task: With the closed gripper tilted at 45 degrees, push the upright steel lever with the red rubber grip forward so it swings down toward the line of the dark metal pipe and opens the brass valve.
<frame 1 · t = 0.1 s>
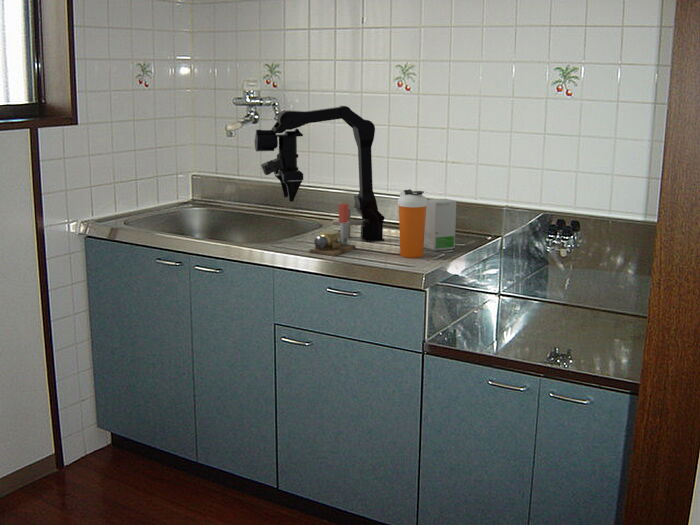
hand: (288, 199, 271), 15 cm above the table, tool pointing down, fingers open, 9 cm apart
shaker bottle: (411, 256, 258), on the table
valve lever: (343, 224, 261), point 9 cm above the table, hinge at 0.0°
pipe connector: (347, 237, 286), on the table
valve stand: (338, 251, 264), on the table
skincare box: (439, 248, 269), on the table
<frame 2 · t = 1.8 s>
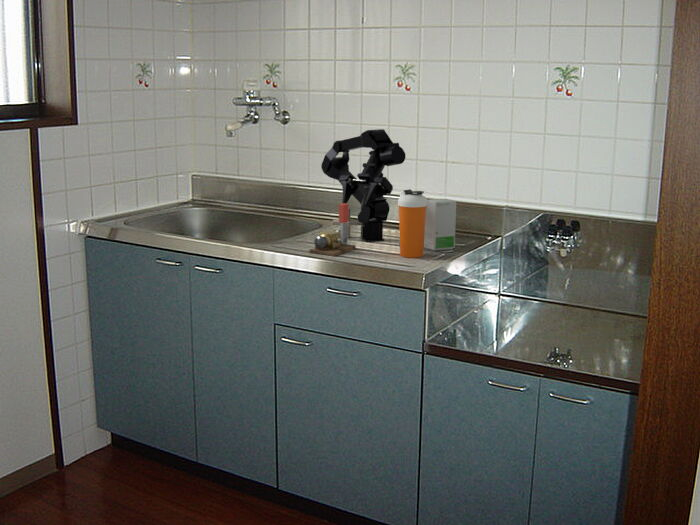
hand: (354, 205, 267), 14 cm above the table, tool tilted 45°, fingers open, 9 cm apart
nothing on the table moved.
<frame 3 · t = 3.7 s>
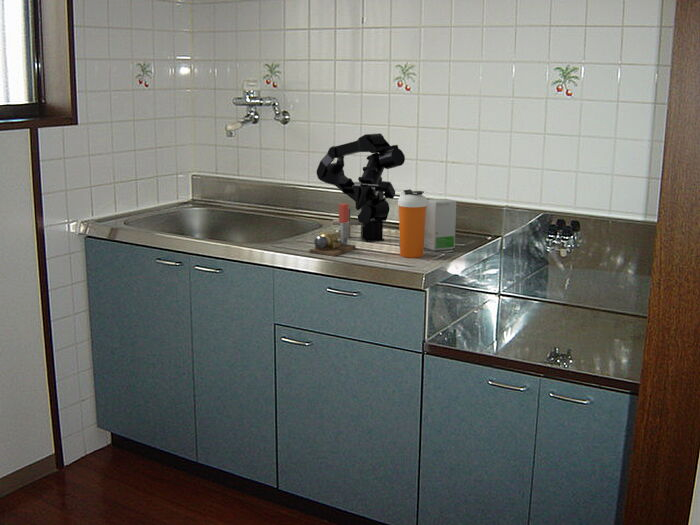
hand: (357, 209, 267), 12 cm above the table, tool tilted 45°, fingers closed
nothing on the table moved.
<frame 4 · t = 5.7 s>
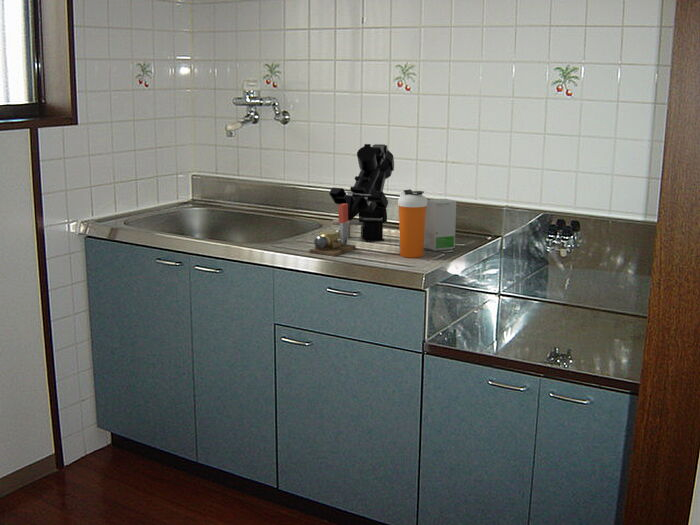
hand: (349, 219, 261), 10 cm above the table, tool tilted 45°, fingers closed
valve lever: (343, 224, 261), point 9 cm above the table, hinge at 1.3°, touching gripper
everything else where it was.
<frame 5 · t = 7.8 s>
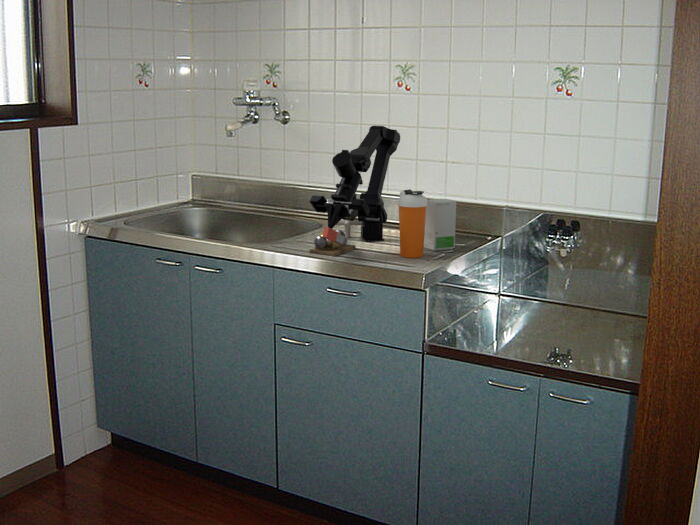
hand: (329, 228, 253), 9 cm above the table, tool tilted 45°, fingers closed, pressing on valve lever
valve lever: (335, 237, 257), point 6 cm above the table, hinge at 66.2°, touching gripper
everything else where it was.
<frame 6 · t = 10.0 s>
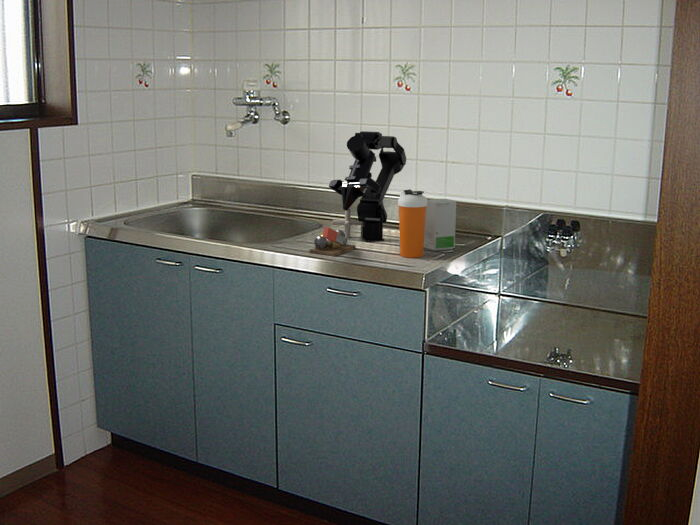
hand: (345, 210, 264), 13 cm above the table, tool tilted 35°, fingers closed
valve lever: (335, 237, 257), point 6 cm above the table, hinge at 66.5°
everything else where it was.
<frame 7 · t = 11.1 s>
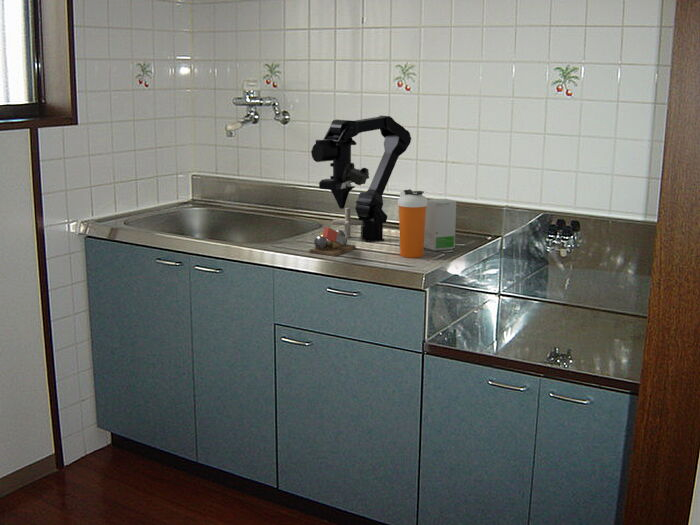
hand: (341, 208, 270), 12 cm above the table, tool pointing down, fingers closed
nothing on the table moved.
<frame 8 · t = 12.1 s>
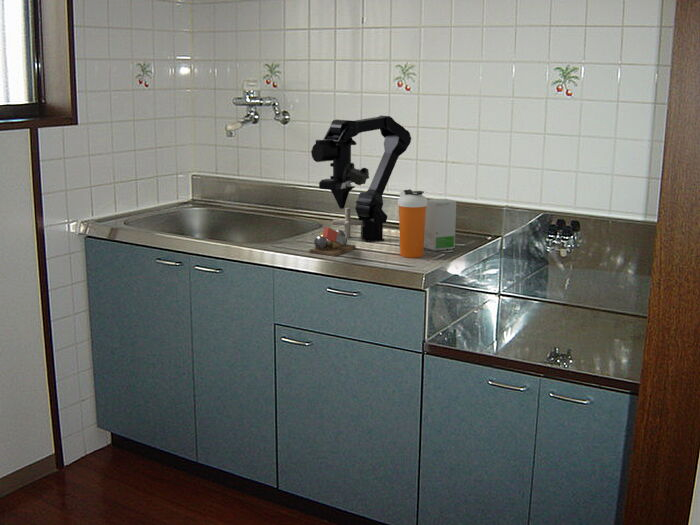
hand: (341, 208, 270), 12 cm above the table, tool pointing down, fingers closed
nothing on the table moved.
at the end: valve lever at +66° (first picture: +0°) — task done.
